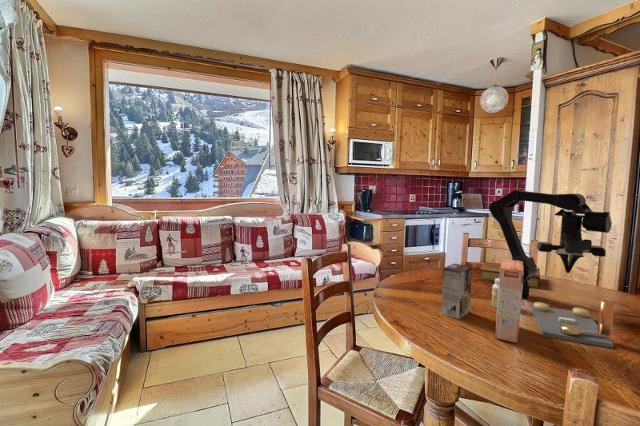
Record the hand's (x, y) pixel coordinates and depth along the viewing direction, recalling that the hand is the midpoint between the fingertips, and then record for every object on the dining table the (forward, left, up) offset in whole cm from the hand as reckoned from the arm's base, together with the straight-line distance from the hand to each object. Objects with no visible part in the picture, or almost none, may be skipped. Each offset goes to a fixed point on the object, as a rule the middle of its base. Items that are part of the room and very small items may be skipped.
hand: (567, 272), depth 117 cm
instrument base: (-3, -18, -13) cm, 22 cm away
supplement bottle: (-21, -8, -13) cm, 26 cm away
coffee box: (-35, -23, -13) cm, 44 cm away
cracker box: (-20, -32, -13) cm, 40 cm away
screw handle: (-1, -26, -12) cm, 29 cm away
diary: (-15, +33, -14) cm, 39 cm away
